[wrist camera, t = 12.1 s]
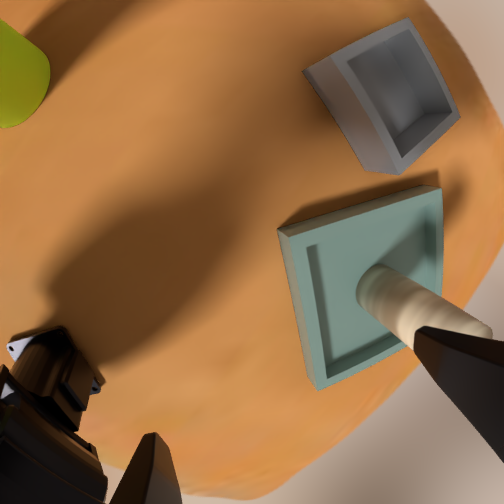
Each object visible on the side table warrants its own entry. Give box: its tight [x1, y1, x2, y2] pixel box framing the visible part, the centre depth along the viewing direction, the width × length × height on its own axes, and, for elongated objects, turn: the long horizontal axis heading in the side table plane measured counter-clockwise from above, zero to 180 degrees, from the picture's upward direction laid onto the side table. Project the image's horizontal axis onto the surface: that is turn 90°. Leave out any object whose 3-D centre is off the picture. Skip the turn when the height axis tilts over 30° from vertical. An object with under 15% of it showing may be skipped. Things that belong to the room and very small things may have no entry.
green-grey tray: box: [277, 185, 444, 391], centre depth 23 cm, size 14×14×2 cm
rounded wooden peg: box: [356, 264, 493, 351], centre depth 18 cm, size 4×4×11 cm
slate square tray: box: [302, 17, 460, 175], centre depth 18 cm, size 9×9×4 cm
